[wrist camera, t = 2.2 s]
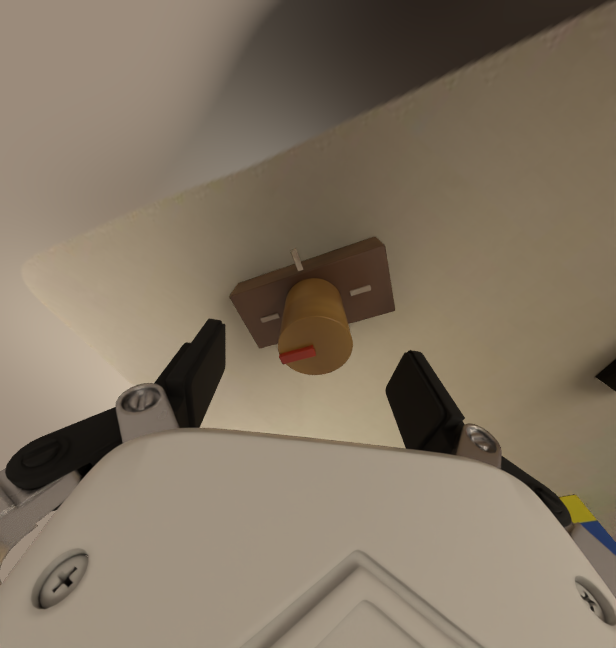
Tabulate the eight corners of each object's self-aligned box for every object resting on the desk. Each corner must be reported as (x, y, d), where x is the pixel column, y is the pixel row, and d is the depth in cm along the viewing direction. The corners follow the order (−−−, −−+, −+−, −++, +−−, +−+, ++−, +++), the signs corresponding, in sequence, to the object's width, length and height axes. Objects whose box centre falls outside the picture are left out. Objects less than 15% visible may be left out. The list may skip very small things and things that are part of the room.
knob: (332, 270, 15) (343, 309, 11) (347, 319, 17) (361, 369, 13) (276, 288, 16) (264, 332, 11) (297, 333, 18) (293, 385, 13)
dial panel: (371, 212, 15) (381, 218, 13) (388, 312, 20) (399, 329, 17) (227, 264, 17) (215, 277, 15) (271, 345, 22) (267, 364, 19)
